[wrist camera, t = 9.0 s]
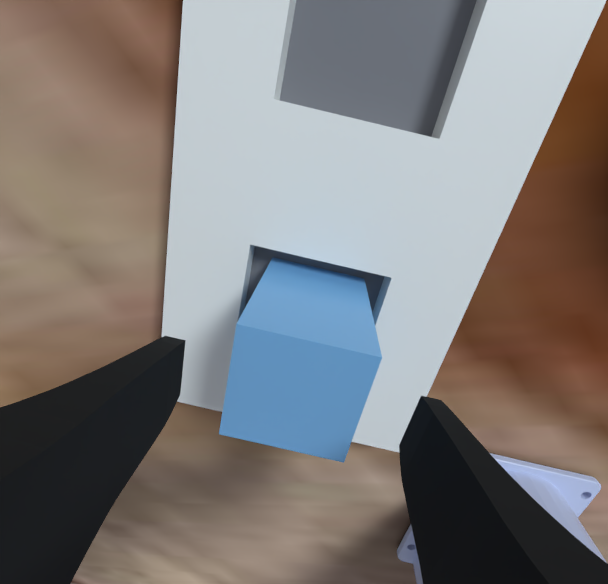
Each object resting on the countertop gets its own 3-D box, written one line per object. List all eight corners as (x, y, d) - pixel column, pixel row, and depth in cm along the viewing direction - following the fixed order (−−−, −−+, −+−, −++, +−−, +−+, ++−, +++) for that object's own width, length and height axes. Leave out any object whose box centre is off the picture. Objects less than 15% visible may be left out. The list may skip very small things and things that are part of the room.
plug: (340, 356, 16) (343, 462, 11) (257, 336, 16) (218, 434, 11) (364, 278, 15) (382, 357, 9) (272, 257, 15) (236, 323, 9)
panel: (395, 428, 18) (401, 452, 17) (171, 376, 18) (157, 397, 17) (647, -160, 10) (703, -214, 8) (224, -268, 10) (204, -342, 8)
